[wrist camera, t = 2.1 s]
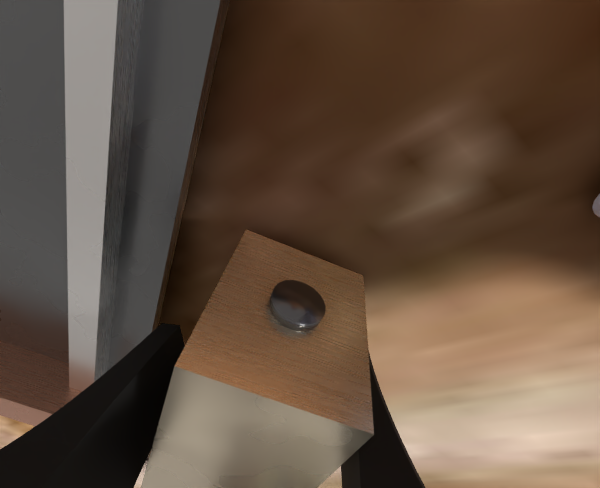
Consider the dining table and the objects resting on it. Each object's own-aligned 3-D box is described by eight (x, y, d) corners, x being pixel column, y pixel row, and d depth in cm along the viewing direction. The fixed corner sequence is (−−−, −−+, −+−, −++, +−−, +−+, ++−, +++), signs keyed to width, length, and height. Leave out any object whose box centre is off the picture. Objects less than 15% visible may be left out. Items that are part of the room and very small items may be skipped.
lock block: (367, 268, 10) (381, 427, 6) (288, 389, 14) (264, 536, 10) (248, 221, 10) (176, 356, 6) (200, 359, 14) (137, 499, 10)
